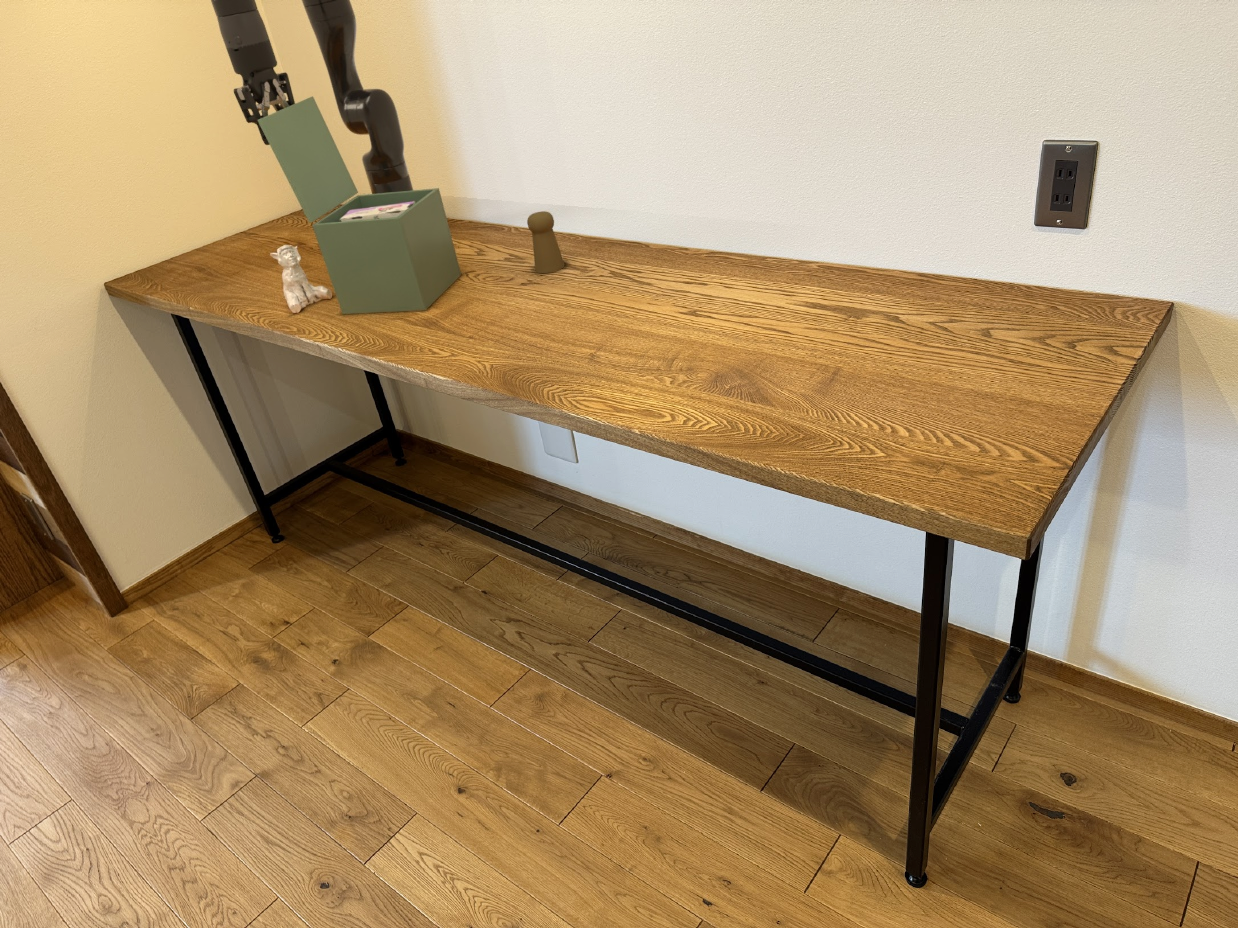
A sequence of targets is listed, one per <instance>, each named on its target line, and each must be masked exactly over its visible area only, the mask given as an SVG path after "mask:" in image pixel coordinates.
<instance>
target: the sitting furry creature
mask: <svg viewBox="0 0 1238 928" xmlns="http://www.w3.org/2000/svg"><path fill="white" fill-rule="evenodd" d="M269 256H270V257H271V258H272V259H274V260H277V263H278V265H280V267H282V268H283V269H282V273H281V280H282V283H283V285H282V286H283V287H282V289H283V290H282V292H283V293H282V294H283V295H284V296H283V298H284V299H285V301H286V303H287V306H288V309H289V310H290V312H292V313H293V314H296V313H297V314H299V312H301V310H302V309H304V308H306V307H307V306H310V305H311V304H314V303H317V302H320V301H321V300H331V299H332V297H333V291H332V290H331V289H330V288H327V287H325V286H323V285H317V286H314V285H313V284H311V282H309V279H308V278H307V277H308V275H307V274H306V273H305V270H303V267H302V266H301V263H300V262H301V260H302V256H301V254H300V253H299V251H298V245H296V246H293V245H291V244H284V245H282V246H280V247H279V248H277V249H276V252H270V253H269Z"/></svg>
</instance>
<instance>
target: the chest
mask: <svg viewBox="0 0 1238 928" xmlns="http://www.w3.org/2000/svg"><path fill="white" fill-rule="evenodd" d="M412 201H415V204H414V205H413V206H411V207H410V208H409V209H407V210H406V211H405V212H403V213H402V214H401V215H399V216H398V217H393V218H380V219H368V220H355V221H343V222H340V218H342V217H343V216H344V215H345V214H346V213H347V212H348V211H349V210H355V209H363V208H370V207H377V206H384V205H392V204H399V203H406V202H412ZM311 226H312V229H313V233H314V235H315V238H316V241H317V244H318V246H319V249H320V253H321V255H322V258H323V261H324V264H325V268H326V270H327V273H328V276H329V278H330V282H331V284H332V287H333V290H334V293H335V297H336V299H337V301H338V305H339V307H340V311H341V314H342V315H354V314H377V313H399V312H419V311H427V309H429V308H430V307H431V306H432V305H433V303H435V302H436V301H437V300H438V299H439V298H440V297H441V296H442V295H443V294H444V293H445V292H446V291H447V290H448V289H449V288H450V287H451V286H452V285H453V284H454V283H455V282H456V281H457V280H458V279H459V278H460V277H461V276H462V271H461V268H460V264H459V259H458V256H457V253H456V249H455V245H454V240H453V237H452V233H451V229H450V225H449V221H448V218H447V215H446V210H445V206H444V203H443V199H442V194H441V190H440V188H439V187H437V188H424V189H413V190H412V191H401V192H390V193H378V194H372V193H370V194H369V193H368V194H357V195H355V196H353V197H352V198H350V200H347V202H344V203H343V204H341V206H339V207H337V208H336V209H333V210H332V211H331V212H330V213H327V215H324V217H321V218H320V219H318V220H317V221H316V222H314V223H313V224H312V225H311Z"/></svg>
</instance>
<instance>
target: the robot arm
mask: <svg viewBox="0 0 1238 928" xmlns="http://www.w3.org/2000/svg"><path fill="white" fill-rule="evenodd" d="M210 2H211V5H212V8H213V10H214V13H215V16H216V20H217V23H218V27H219V32H220V35H221V38H222V41H223V43H224V46H225V49H226V52H227V55H228V57H229V60H230V63H231V65H232V67H233V72H234V73H235V74H236V75H240V77H241V80H242V86H240V87H237V88H233V94H234V96H235V98H236V101H237V103H238V106H239V108H240V110H241V112H242V115H243V116H244V118H245V120H246V123H248V124H250V123H251V124H255V125H256V126H257V129H258V131H259V134H260V137H261V140H262V142H263V143H264V145H265V146H270V144H269V142H268V140H267V138H266V136H265V134H264V132H263V130H262V128H261V126H260V124H259V122H258V120H259V119H261V118H263V117H266V116H268V115H269V110H270V109H271V106H272V108H273V109H274V110H275V112H277V111H279V110H282V109H284V108H286V107H289V106H291V105H293V104H296V101H295V97H294V94H293V90H292V86H291V81H290V78H289V74H288V73H287V72H279V73H276V71H275V68H276V67H277V66H278V61H277V58H276V55H275V52H274V49H273V46H272V42H271V40H270V37H269V34H268V30H267V28H266V25H265V21H264V20H263V18H262V16H261V14H260V11H259V9H258V5H257V3H256V0H210ZM301 2H302V6H303V8H304V12H305V13H306V16H307V19H308V21H309V24H310V27H311V29H312V31H313V33H314V36H315V39H316V42H317V44H318V47H319V50H320V53H321V56H322V59H323V61H324V65H325V68H326V70H327V75H328V77H329V80H330V84H331V88H332V91H333V96H334V99H335V103H336V106H337V110H338V113H339V115H340V116H339V117H340V119H341V120H342V123H343V124H344V126H345V127H346V129H347V130H348V131H350V133H352V134H356V135H359V136H363V135H364V136H366V135H368V136H369V141H370V142H369V143H370V149H369V151H367V152H365V153H364V154H363V155H362V157H361V161H362V165H363V168H364V172H365V175H366V178H367V181H368V185H369V189H370V192H371V194H378V193H390V192H401V191H412V190H414V187H413V184H412V180H411V177H410V173H409V170H408V166H407V162H406V158H405V154H404V153H405V141H404V137H403V132H402V128H401V124H400V119H399V114H398V110H397V107H396V104H395V102H394V101H393V98H392V97H391V95H390V94H389V93H388V92H387V91H385V90H384V89H382V88H364V87H363V84H362V82H361V79H360V76H359V73H358V70H357V66H356V60H355V53H356V51H355V50H356V49H355V48H356V42H357V41H356V40H357V18H356V14H355V11H354V8H353V5H352V2H351V0H301ZM250 111H251V112H250ZM260 111H261V113H260ZM251 113H252V114H251Z"/></svg>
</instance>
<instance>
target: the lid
mask: <svg viewBox="0 0 1238 928" xmlns="http://www.w3.org/2000/svg"><path fill="white" fill-rule="evenodd" d="M258 122H259V124H260V126H261V128H262V130H263V132H264V134H265V136H266V138H267V140H268V142H269V144H270V145H269V146H270V148H271V150H272V152H273V154H274V156H275V158H276V160H277V162H278V164H279V166H280V168H281V170H282V172H283V174H284V176H285V178H286V179H287V182H288V184H289V185H290V187H291V190H292V192H293V194H294V195H295V198H296V199H297V201H298V203H299V205H300V207H301V210H302V212H303V213H304V215H305V218H306V219H307V221H308V223H309V224H312V223H315V221H318V220H319V219H321V218H322V217H323V216H325V215H326V214H329V212H330V211H331V212H332V211H333V210H335V208H338V206H340V205H342V204H344V203H345V202H346V201H349V199H352V198H353V197H355V196H356V195H358V193H359V191H358V188H357V186H356V185H355V182H354V180H353V178H352V176H351V174H350V172H349V170H348V167H347V165H346V163H345V161H344V159H343V157H342V154H341V152H340V151H339V149H338V146H337V144H336V142H335V140H334V138H333V135H332V133H331V132H330V129H329V127H328V125H327V123H326V121H325V119H324V117H323V114H322V113H321V110H320V108H319V106H318V104H317V102H316V100H315V97H314V96H313V95H312V96H309V97H307V98H304V99H303V100H300V101H297V102H295V104H293V105H291V106H289V107H286V108H284V109H282V110H279V111H277V112H276V111H275V112H273V113H270V114H268V116H266V117H263V118H261V119H259V120H258Z"/></svg>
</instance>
